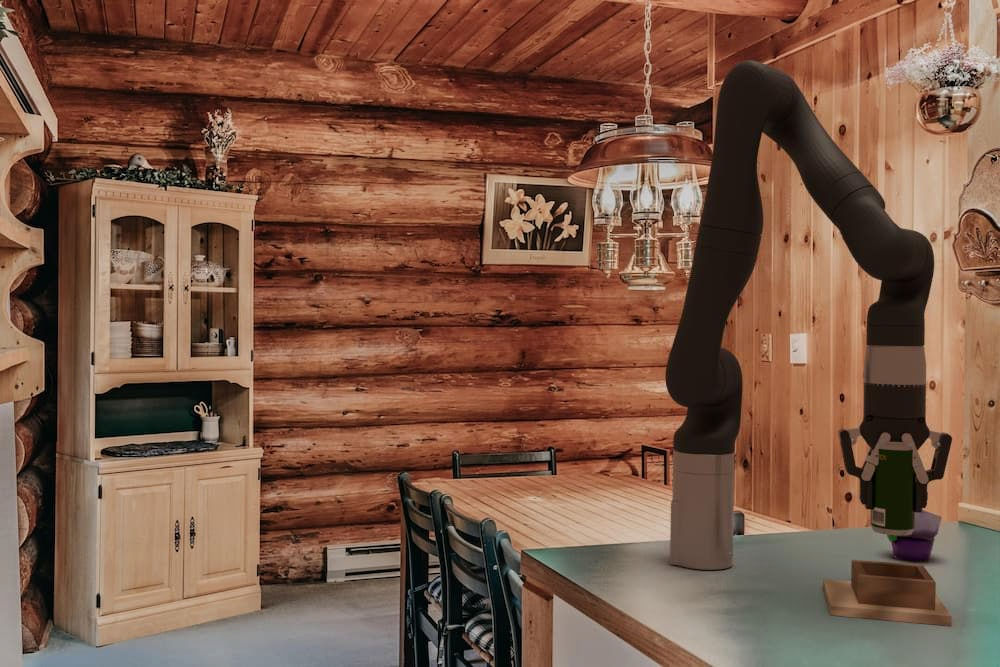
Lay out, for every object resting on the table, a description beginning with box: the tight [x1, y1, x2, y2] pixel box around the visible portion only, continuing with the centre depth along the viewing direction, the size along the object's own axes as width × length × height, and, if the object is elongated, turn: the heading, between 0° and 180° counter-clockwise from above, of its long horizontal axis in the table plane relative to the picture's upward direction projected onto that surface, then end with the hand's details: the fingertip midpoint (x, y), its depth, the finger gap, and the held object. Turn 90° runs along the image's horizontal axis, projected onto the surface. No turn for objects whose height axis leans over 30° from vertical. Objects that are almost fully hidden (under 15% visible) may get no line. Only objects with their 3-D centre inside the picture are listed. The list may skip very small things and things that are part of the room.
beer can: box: [869, 440, 916, 536], centre depth 122 cm, size 5×5×12 cm
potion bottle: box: [886, 491, 942, 564], centre depth 148 cm, size 9×9×12 cm
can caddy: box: [822, 559, 953, 627], centre depth 122 cm, size 14×13×5 cm
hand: (892, 509), depth 122 cm, fingers closed on beer can, 5 cm apart
